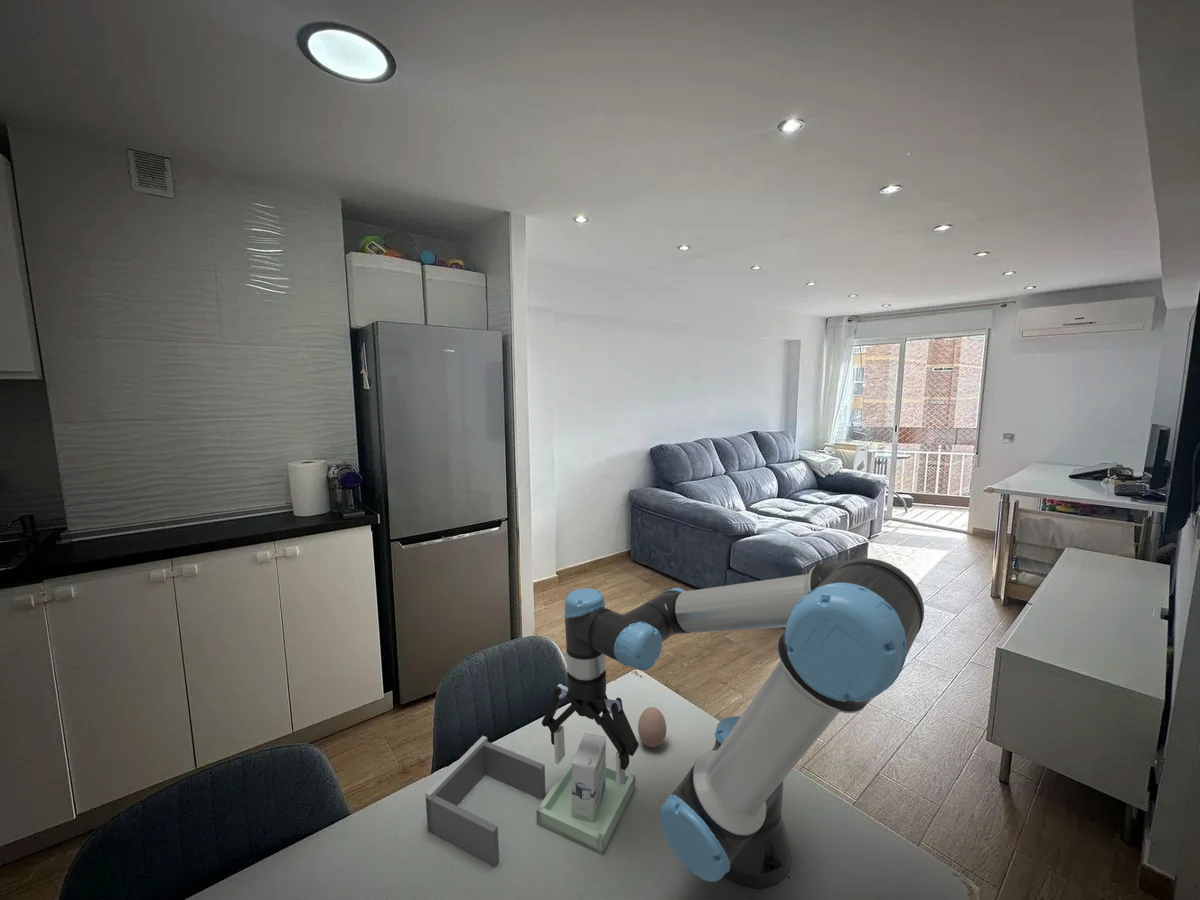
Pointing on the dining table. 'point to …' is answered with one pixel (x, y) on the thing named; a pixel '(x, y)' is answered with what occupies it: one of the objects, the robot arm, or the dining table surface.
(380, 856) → the dining table surface
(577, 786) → the ink box
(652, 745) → the egg
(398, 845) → the dining table surface
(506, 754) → the dock
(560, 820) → the tray
